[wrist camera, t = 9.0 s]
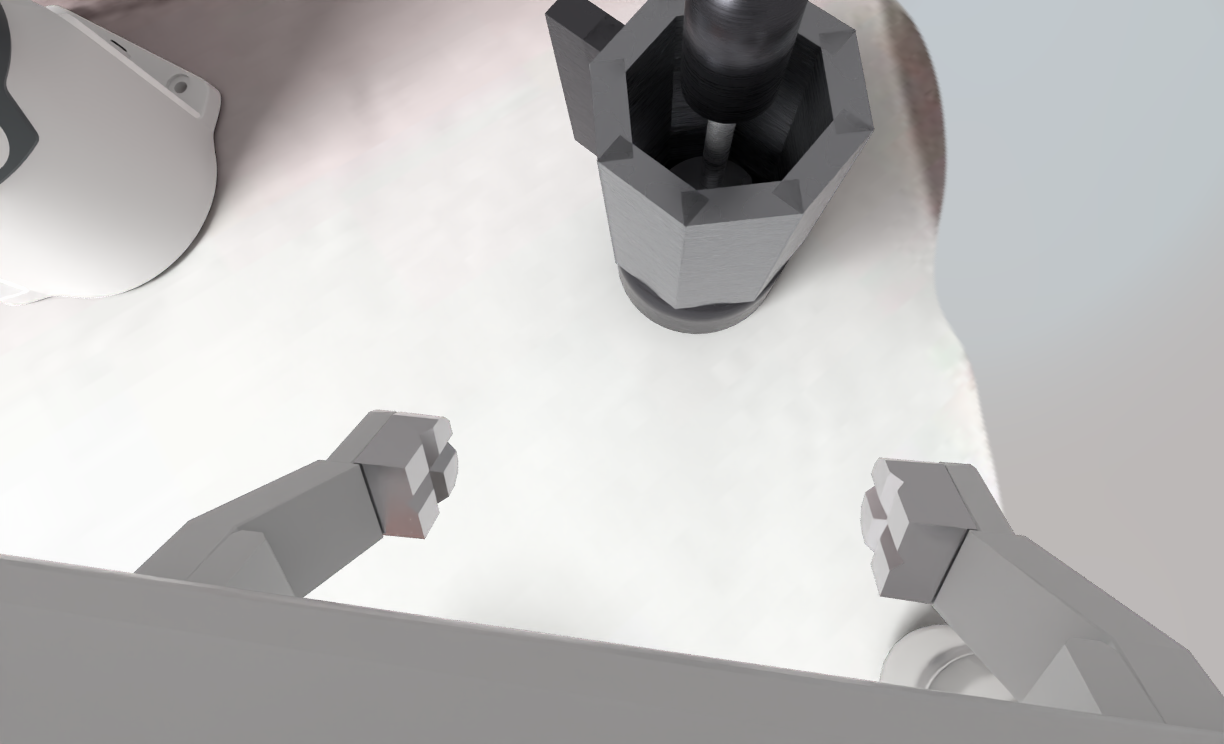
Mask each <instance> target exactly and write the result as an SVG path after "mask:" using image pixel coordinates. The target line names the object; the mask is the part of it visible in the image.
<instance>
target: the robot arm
mask: <svg viewBox="0 0 1224 744" xmlns="http://www.w3.org/2000/svg"><path fill="white" fill-rule="evenodd" d="M220 106H221V95H220V93H219V91H218V90H217V89H216V88H215V87H214V86H212V85H211V84H209V83H208V82H207V81H205V80H204V79H202V78H200V77H198V76H196V75H195V74H193V73H191V72H189V71H187V70H185V69H183V68H181V67H179V66H177V65H175V64H173V63H171V62H169V61H167V60H165V59H163V58H161V57H159V56H157V55H155V54H153V53H151V52H149V51H148V50H146V49H144V48H142V47H140V46H138V45H136V44H134V43H132V42H130V41H128V40H126V39H124V38H122V37H120V36H118V35H116V34H114V33H112V32H110V31H108V30H106V29H104V28H103V27H101V26H99V25H97V24H95V23H93V22H91V21H89V20H87V19H85V18H83V17H81V16H79V15H77V14H75V13H73V12H71V11H69V10H67V9H65V8H63V7H61V6H58V5H50V6H46V7H44V6H42V5H40V4H38V3H35V2H33V1H31V0H0V302H1V303H4V304H7V305H10V306H19V305H24V304H28V303H32V302H35V301H38V300H41V299H44V298H47V297H51V296H65V297H75V298H100V297H107V296H112V295H116V294H120V293H123V292H126V291H129V290H131V289H133V288H136V287H138V286H140V285H142V284H144V283H146V282H148V281H149V280H151V279H153V278H154V277H156V276H157V275H159V274H160V273H161V272H163V271H164V270H165V269H167V268H168V267H169V266H170V265H171V264H172V263H174V262H175V261H176V260H177V259H178V258H179V257H180V256H181V254H182V253H183V252H184V251H185V250H186V249H187V248H188V246H189V245H190V244H191V243H192V241H193V240H194V238H195V237H196V235H197V234H198V232H199V231H200V229H201V227H202V225H203V223H204V221H205V219H206V217H207V215H208V212H209V210H210V207H211V204H212V201H213V197H214V193H215V188H216V179H217V163H216V155H215V149H214V140H213V133H214V129H215V126H216V122H217V119H218V115H219V111H220ZM452 434H453V433H452V429H451V425H450V421H449V420H448V419H447V418H445V417H440V416H432V415H423V414H415V413H406V412H395V411H386V410H374V411H371V412H369V413H368V414H367V415H366V416H365V417H364V418H363V420H362V421H361V422H360V423H359V424H358V425H357V426H356V427H355V429H354V430H353V431H352V432H351V433H350V434H349V435H348V436H347V438H346V439H345V440H344V441H343V442H342V443H341V444H340V445H339V446H338V448H337V449H336V450H335V451H334V452H333V453H332V454H331V455H330V457H329V458H328V459H327V460H326V461H325V460H317V461H315V462H313V463H311V464H309V465H307V466H305V467H302V468H300V469H298V470H296V471H294V472H292V473H290V474H287V475H285V476H283V477H281V478H279V479H277V480H275V481H272V482H270V483H268V484H266V485H264V486H262V487H260V488H258V489H255V490H253V491H251V492H249V493H247V494H245V495H243V496H240V497H238V498H236V499H234V500H232V501H230V502H228V503H226V504H223V505H221V506H219V507H217V508H215V509H213V510H211V511H208V512H206V513H204V514H202V515H200V516H198V517H196V518H193V519H191V520H189V521H188V522H187V523H186V524H185V525H184V526H183V527H182V528H180V529H179V530H178V531H177V532H176V533H175V534H174V535H173V536H172V537H171V538H170V539H169V540H168V541H167V542H166V543H165V544H164V545H163V546H161V547H160V548H159V549H158V550H157V551H156V552H155V553H154V554H153V555H152V556H151V557H150V558H149V559H148V560H147V561H146V562H145V563H144V564H142V565H141V566H140V567H139V568H138V569H137V570H136V571H135V572H134V573H129V572H122V571H115V570H108V569H101V568H94V567H88V566H81V565H74V564H67V563H60V562H53V561H46V560H39V559H32V558H26V557H19V556H12V555H5V554H0V744H1224V697H1223V695H1222V694H1221V692H1220V691H1219V690H1218V689H1217V687H1216V686H1215V684H1214V683H1213V682H1212V680H1211V679H1210V678H1209V676H1208V675H1207V674H1206V672H1205V671H1204V670H1203V668H1202V667H1201V666H1200V664H1199V663H1198V662H1197V660H1196V659H1195V658H1194V656H1193V655H1192V653H1191V652H1190V651H1189V650H1188V649H1186V648H1185V647H1183V646H1182V645H1180V644H1179V643H1178V642H1176V641H1175V640H1173V639H1172V638H1170V637H1169V636H1167V635H1166V634H1165V633H1163V632H1162V631H1160V630H1159V629H1157V628H1156V627H1155V626H1153V625H1152V624H1150V623H1149V622H1148V621H1146V620H1145V619H1143V618H1142V617H1140V616H1139V615H1138V614H1136V613H1135V612H1133V611H1132V610H1130V609H1129V608H1127V607H1126V606H1125V605H1123V604H1122V603H1120V602H1119V601H1117V600H1116V599H1115V598H1113V597H1112V596H1110V595H1109V594H1107V593H1106V592H1105V591H1103V590H1102V589H1100V588H1099V587H1097V586H1096V585H1095V584H1093V583H1092V582H1090V581H1089V580H1087V579H1086V578H1085V577H1083V576H1082V575H1080V574H1079V573H1077V572H1076V571H1074V570H1073V569H1072V568H1070V567H1069V566H1067V565H1066V564H1064V563H1063V562H1062V561H1060V560H1059V559H1057V558H1056V557H1054V556H1053V555H1052V554H1050V553H1049V552H1047V551H1046V550H1044V549H1043V548H1042V547H1040V546H1039V545H1037V544H1036V543H1034V542H1033V541H1032V540H1030V539H1028V538H1027V537H1026V536H1021V535H1015V534H1014V532H1013V530H1012V529H1011V527H1010V525H1009V524H1008V522H1007V520H1006V518H1005V517H1004V515H1003V513H1002V511H1001V510H1000V508H999V506H998V505H997V503H996V501H995V500H994V498H993V496H992V494H991V493H990V491H989V489H988V488H987V486H986V484H985V483H984V481H983V479H982V477H981V476H980V474H979V472H978V471H977V469H976V468H975V467H973V466H972V465H971V464H959V463H945V462H939V463H935V462H924V461H913V460H901V459H890V458H878V460H877V461H876V463H875V464H874V467H873V470H872V473H871V475H872V478H873V481H874V485H875V486H874V487H872V488H871V489H869V490H868V491H867V492H865V495H864V499H863V502H862V506H861V520H860V521H861V530H862V535H863V539H864V543H865V544H866V545H867V546H868V547H869V548H870V549H871V550H872V551H873V552H874V556H873V559H872V561H871V567H872V571H873V574H874V578H875V581H876V585H877V588H878V592H879V595H880V596H882V597H888V598H895V599H901V600H908V601H915V602H921V603H928V604H933V606H932V607H933V608H934V609H935V610H936V611H937V612H938V614H939V615H940V616H941V617H942V618H943V619H944V620H945V621H946V622H947V624H948V625H949V626H950V627H951V628H952V629H953V630H954V631H955V632H956V633H957V635H958V636H959V637H960V638H961V639H962V640H963V641H964V642H965V643H966V645H967V646H968V647H969V648H970V649H971V650H972V651H973V652H974V653H975V655H976V656H977V657H978V658H979V659H980V660H981V661H982V662H983V663H984V664H985V666H986V667H987V668H988V669H989V670H990V671H991V672H992V673H993V674H994V676H995V677H996V678H997V679H998V680H999V681H1000V682H1001V683H1002V684H1003V686H1004V687H1005V688H1006V689H1007V690H1008V691H1009V692H1010V693H1011V694H1012V696H1013V697H1014V698H1015V699H1016V700H1017V701H1018V702H1013V701H1006V700H999V699H992V698H985V697H979V696H972V695H965V694H958V693H951V692H944V691H938V690H931V689H924V688H917V687H910V686H904V685H897V684H890V683H883V682H876V681H869V680H863V679H856V678H849V677H842V676H835V675H828V674H821V673H815V672H808V671H801V670H794V669H787V668H780V667H773V666H767V665H760V664H753V663H746V662H739V661H732V660H725V659H719V658H712V657H705V656H698V655H691V654H684V653H677V652H670V651H664V650H657V649H650V648H643V647H636V646H629V645H623V644H616V643H609V642H602V641H595V640H588V639H582V638H575V637H568V636H561V635H554V634H547V633H541V632H534V631H527V630H520V629H513V628H506V627H499V626H493V625H486V624H479V623H472V622H465V621H458V620H451V619H445V618H438V617H431V616H424V615H417V614H410V613H403V612H397V611H390V610H383V609H376V608H369V607H362V606H355V605H349V604H342V603H335V602H328V601H321V600H314V599H307V598H303V597H304V596H306V595H307V594H308V593H310V592H311V591H312V590H314V589H315V588H316V587H318V586H319V585H320V584H322V583H323V582H324V581H326V580H327V579H328V578H330V577H331V576H332V575H334V574H335V573H336V572H338V571H339V570H340V569H342V568H343V567H344V566H346V565H347V564H348V563H350V562H351V561H352V560H354V559H355V558H356V557H358V556H359V555H360V554H362V553H363V552H364V551H366V550H367V549H368V548H370V547H371V546H372V545H374V544H375V543H376V542H378V541H379V540H380V539H382V538H383V535H388V536H399V537H409V538H419V539H425V538H426V536H427V534H428V533H429V531H430V529H431V527H432V526H433V524H434V522H435V520H436V518H437V517H438V515H439V509H438V505H437V503H439V502H441V501H442V500H444V499H446V498H447V497H449V495H450V493H451V491H452V490H453V488H454V486H455V482H456V478H457V474H458V457H457V452H456V450H455V449H454V448H453V447H452V446H451V445H450V444H449V443H448V440H449V439H450V437H451V436H452Z"/></svg>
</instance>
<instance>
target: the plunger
mask: <svg viewBox="0 0 1224 744" xmlns="http://www.w3.org/2000/svg"><path fill="white" fill-rule="evenodd" d="M807 3H808V0H685V7H684V23H683V38H682V54H681V70H680V87H681V91H682V94H683V97H684V99H685V101H686V102H687V104H688V105H689V106H690V107H691V108H692V109H693V111H695V112H696V113H697V114H698V115H700V116H702V117H703V118H705V119H708V124H707V131H706V138H705V145H704V151H703V156H699V157H694V158H690V159H687V160H685V161H682V162H680V163H679V164H677V165H675V166H674V167H673V168H671V169H670V170H669V171H671V172H672V173H673V174H675V175H676V176H678V177H679V178H680V179H682V180H683V181H685V182H686V183H687V184H689V185H690V186H691V187H693V188H694V189H696V190H705V189H714V188H723V187H731V186H740V185H749V184H755V182H754V180H753V179H752V178H751V176H750V175H749V174H748V173H747V172H746V171H745V170H744V169H743V168H742V167H740V166H739V165H737V164H736V163H734V162H732V161H730V160H728V156H729V152H730V147H731V143H732V139H733V134H734V130H735V126H736V123H742V122H746V121H749V120H751V119H754V118H756V117H757V116H759V115H761V114H762V113H763V112H765V111H766V110H767V109H768V108H769V107H770V106H771V105H772V103H773V102H774V101H775V99H776V97H777V95H778V92H779V90H780V87H781V83H782V80H783V77H784V74H785V71H786V68H787V65H788V62H789V59H790V56H791V52H792V49H793V46H794V43H795V40H796V37H797V34H798V31H799V28H800V24H801V21H802V18H803V15H804V12H805V9H806V6H807Z"/></svg>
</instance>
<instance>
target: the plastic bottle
mask: <svg viewBox="0 0 1224 744" xmlns="http://www.w3.org/2000/svg"><path fill="white" fill-rule="evenodd" d="M880 682H883V683H890V684H897V685H904V686H910V687H917V688H924V689H931V690H938V691H944V692H951V693H958V694H965V695H972V696H979V697H985V698H992V699H999V700H1006V701H1013V702H1018V701H1017V700H1016V699H1015V698H1014V697H1013V696H1012V694H1011V693H1010V692H1009V691H1008V690H1007V689H1006V688H1005V687H1004V686H1003V684H1002V683H1001V682H1000V681H999V680H998V679H997V678H996V677H995V676H994V674H993V673H992V672H991V671H990V670H989V669H988V668H987V667H986V666H985V664H984V663H983V662H982V661H981V660H980V659H979V658H978V657H977V656H976V655H975V653H974V652H973V651H972V650H971V649H970V648H969V647H968V646H967V645H966V643H965V642H964V641H963V640H962V639H961V638H960V637H959V636H958V635H957V633H956V632H955V631H954V630H953V629H952V628H951V627H950V626H949V625H930V626H926V627H922V628H919V629H917V630H914V631H912V632H910V633H908V634H907V635H906V636H904V637H903V638H902V639H900V640H899V641H898V642H897V643H896V644H895V645H894V647H893V648H892V649H891V650H890V652H889V654H888V655H887V657H886V659H885V661H884V664H883V667H882V670H881V674H880Z"/></svg>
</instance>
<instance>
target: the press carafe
mask: <svg viewBox="0 0 1224 744" xmlns="http://www.w3.org/2000/svg"><path fill="white" fill-rule="evenodd" d="M684 7H685V0H648V1H647V2H646V3H645V4H644V5H643V6H642V7H641V8H640V10H639V11H638V12H637V13H636V14H635V15H634V16H633V17H632V18H631V19H630V20H629V21H628V23H627V24H626V25H624V24H622V23H621V22H619V21H618V20H616V19H615V18H613V17H612V16H610V15H609V14H607V13H606V12H605V11H603V10H602V9H600V8H599V7H597V6H596V5H594V4H593V3H591V2H590V1H588V0H557V1H556V2H555V3H554V4H553V5H552V6H551V7H550V9H549V10H548V11H547V12H546V13H545V16H546V20H547V24H548V29H549V33H550V37H551V41H552V45H553V50H554V54H555V58H556V62H557V66H558V71H559V75H560V79H561V83H562V87H563V92H564V96H565V100H566V104H567V108H568V113H569V117H570V121H571V125H572V129H573V134H574V138H575V140H576V141H577V142H579V143H580V144H581V145H583V146H584V147H585V148H587V149H588V150H590V151H591V152H592V153H594V154H595V155H596V156H597V159H598V160H597V164H598V169H599V175H600V180H601V186H602V191H603V197H604V202H605V207H606V213H607V218H608V224H609V229H610V235H611V240H612V245H613V251H614V256H615V262H616V264H617V265H618V270H619V276H620V279H621V282H622V285H623V287H624V289H625V292H626V294H627V295H628V297H629V298H630V300H631V302H632V303H633V304H634V305H635V306H636V307H637V309H638V310H639V311H640V312H642V313H643V314H644V315H645V316H646V317H647V318H649V319H650V320H652V321H653V322H655V323H657V324H659V325H661V326H663V327H665V328H668V329H671V330H673V331H678V332H682V333H691V334H705V333H711V332H717V331H720V330H724V329H727V328H729V327H731V326H734V325H736V324H738V323H739V322H741V321H742V320H744V319H746V318H747V317H748V316H749V315H751V314H752V313H753V312H754V311H755V310H756V309H757V308H758V307H759V306H760V305H761V303H762V302H763V300H764V299H765V298H766V296H767V295H768V293H769V291H770V290H771V288H772V287H773V285H774V283H775V282H776V280H777V278H778V277H779V275H780V274H781V272H782V270H783V269H784V267H785V266H786V264H787V262H788V260H789V258H790V257H791V256H792V255H793V254H794V252H795V251H796V250H797V249H798V248H799V246H800V245H801V244H802V243H803V242H804V240H805V239H806V237H807V235H808V234H809V232H810V231H811V229H812V228H813V226H814V224H815V223H816V221H817V220H818V218H819V217H820V215H821V213H822V212H823V210H824V209H825V207H826V205H827V204H828V202H829V201H830V199H831V198H832V196H833V194H834V193H835V191H836V190H837V188H838V187H839V185H840V183H841V182H842V180H843V179H844V177H845V175H846V174H847V172H848V171H849V169H850V168H851V166H852V164H853V163H854V161H855V160H856V158H857V157H858V155H859V153H860V152H861V150H862V149H863V147H864V145H865V144H866V142H867V141H868V139H869V138H870V136H871V134H872V133H873V131H874V127H873V122H872V117H871V111H870V106H869V101H868V96H867V90H866V85H865V80H864V74H863V69H862V64H861V59H860V53H859V48H858V43H857V37H856V30H855V29H853V28H851V27H849V26H848V25H846V24H845V23H843V22H841V21H840V20H838V19H836V18H835V17H833V16H832V15H830V14H828V13H827V12H825V11H824V10H822V9H820V8H819V7H817V6H815V5H814V4H812V3H811V2H809V1H808V3H807V6H806V9H805V12H804V15H803V18H802V21H801V24H800V28H799V31H798V34H797V37H796V40H795V43H794V46H793V49H792V52H791V56H790V59H789V62H788V65H787V68H786V71H785V74H784V77H783V80H782V83H781V87H780V90H779V92H778V95H777V97H776V99H775V101H774V102H773V103H772V105H771V106H770V107H769V108H768V109H767V110H766V111H765V112H763V113H762V114H761V115H759V116H757V117H756V118H754V119H751V120H749V121H746V122H742V123H736V126H735V130H734V134H733V139H732V143H731V147H730V152H729V156H728V160H730V161H732V162H734V163H736V164H737V165H739V166H740V167H742V168H743V169H744V170H745V171H746V172H747V173H748V174H749V175H750V176H751V178H752V179H753V180H754V182H755V184H749V185H740V186H731V187H723V188H714V189H705V190H696V189H694V188H693V187H691V186H690V185H689V184H687V183H686V182H685V181H683V180H682V179H680V178H679V177H678V176H676V175H675V174H673V173H672V172H671V171H669V170H670V169H671V168H673V167H674V166H675V165H677V164H679V163H680V162H682V161H685V160H687V159H690V158H694V157H699V156H703V151H704V145H705V138H706V131H707V124H708V119H705V118H703V117H702V116H700V115H698V114H697V113H696V112H695V111H693V109H692V108H691V107H690V106H689V105H688V104H687V102H686V101H685V99H684V97H683V94H682V91H681V87H680V70H681V54H682V38H683V23H684Z"/></svg>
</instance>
